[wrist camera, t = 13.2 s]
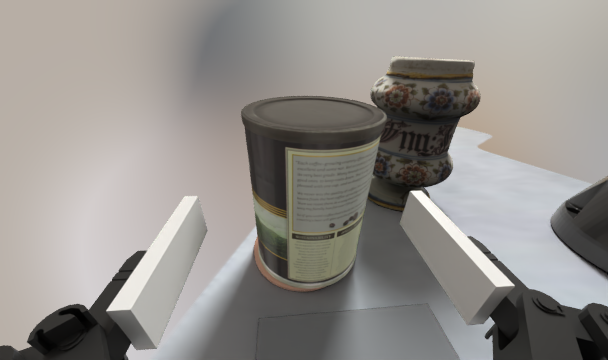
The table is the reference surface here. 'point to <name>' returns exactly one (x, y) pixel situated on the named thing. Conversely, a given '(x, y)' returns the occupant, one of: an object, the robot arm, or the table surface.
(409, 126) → the apothecary jar
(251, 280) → the table surface
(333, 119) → the coffee can
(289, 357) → the gray tile
